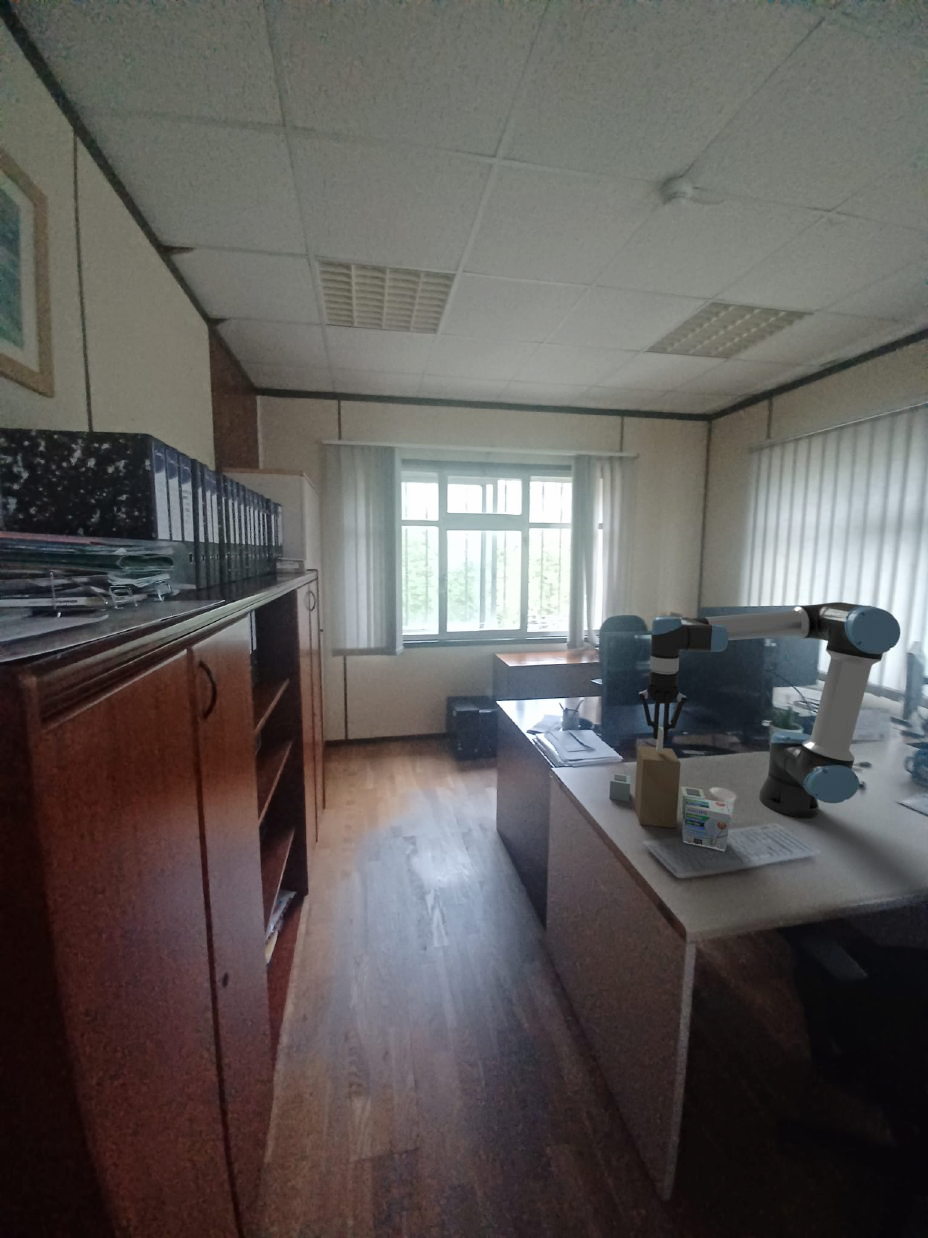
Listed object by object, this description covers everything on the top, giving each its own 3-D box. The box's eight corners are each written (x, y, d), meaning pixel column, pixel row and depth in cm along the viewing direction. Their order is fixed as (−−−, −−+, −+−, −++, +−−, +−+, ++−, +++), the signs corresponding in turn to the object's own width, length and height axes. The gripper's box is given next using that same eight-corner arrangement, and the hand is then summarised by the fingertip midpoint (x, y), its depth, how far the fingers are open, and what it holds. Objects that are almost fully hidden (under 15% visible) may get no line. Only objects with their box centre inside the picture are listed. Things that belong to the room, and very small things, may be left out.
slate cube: (629, 793, 151) (630, 775, 151) (629, 802, 146) (630, 783, 145) (609, 789, 153) (610, 772, 152) (609, 798, 148) (610, 780, 147)
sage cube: (700, 807, 143) (702, 788, 142) (704, 817, 137) (705, 798, 136) (679, 804, 145) (681, 785, 144) (681, 814, 139) (683, 794, 138)
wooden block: (676, 829, 131) (681, 762, 128) (639, 825, 133) (643, 759, 130) (668, 810, 141) (672, 748, 138) (633, 806, 143) (637, 745, 140)
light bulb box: (682, 844, 124) (685, 806, 123) (681, 830, 131) (683, 794, 129) (727, 853, 120) (730, 815, 119) (723, 839, 127) (727, 802, 125)
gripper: (687, 669, 132) (682, 747, 135) (639, 666, 137) (635, 742, 140) (690, 675, 125) (685, 758, 128) (639, 672, 130) (635, 751, 133)
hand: (659, 749), depth 134 cm, fingers closed
